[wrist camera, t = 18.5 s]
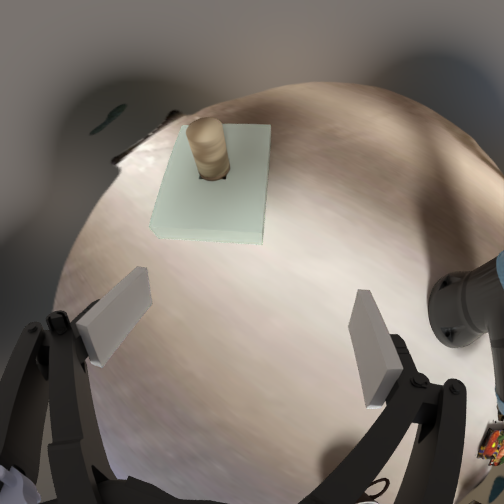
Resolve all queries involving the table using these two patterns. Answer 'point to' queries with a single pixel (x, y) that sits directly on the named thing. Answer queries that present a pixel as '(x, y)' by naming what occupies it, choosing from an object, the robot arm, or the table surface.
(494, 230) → the table surface
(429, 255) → the table surface
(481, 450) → the food
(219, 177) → the beech peg
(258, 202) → the sage board
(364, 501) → the coffee mug
